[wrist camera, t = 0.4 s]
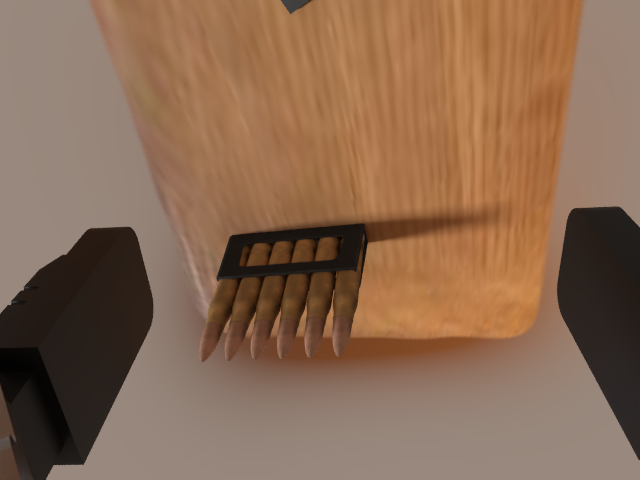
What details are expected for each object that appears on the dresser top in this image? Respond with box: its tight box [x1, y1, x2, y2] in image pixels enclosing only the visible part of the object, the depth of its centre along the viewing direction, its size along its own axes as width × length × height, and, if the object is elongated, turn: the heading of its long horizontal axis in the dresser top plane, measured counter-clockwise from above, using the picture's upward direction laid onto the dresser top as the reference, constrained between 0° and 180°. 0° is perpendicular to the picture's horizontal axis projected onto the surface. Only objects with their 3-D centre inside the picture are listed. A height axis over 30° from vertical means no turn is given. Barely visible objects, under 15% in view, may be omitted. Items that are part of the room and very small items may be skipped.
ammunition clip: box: [199, 224, 368, 362], centre depth 40 cm, size 11×2×12 cm, turn 101°
